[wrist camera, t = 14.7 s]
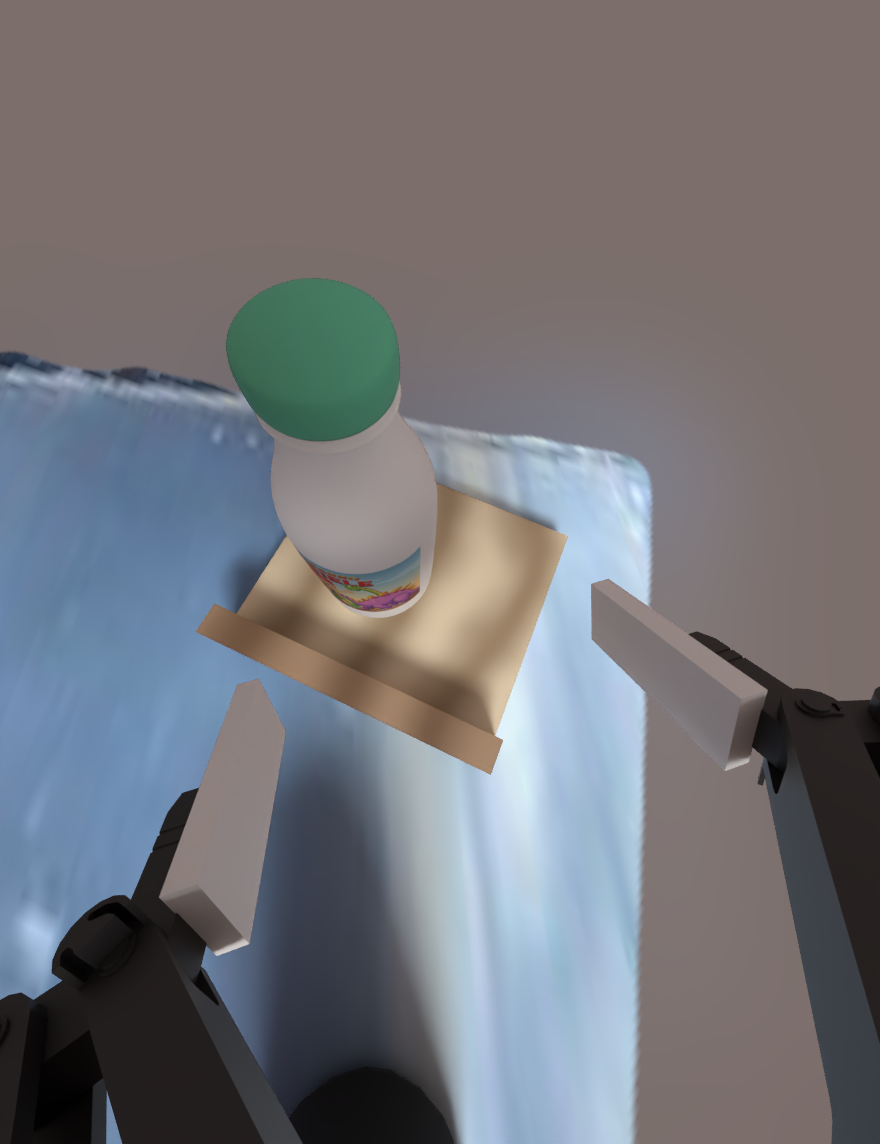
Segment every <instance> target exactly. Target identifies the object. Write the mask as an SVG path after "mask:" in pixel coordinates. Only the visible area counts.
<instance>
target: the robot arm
mask: <svg viewBox="0 0 880 1144" xmlns="http://www.w3.org/2000/svg"><path fill="white" fill-rule="evenodd" d="M591 610H592V640H593V641H594V642H595V643H596V644H597V645H598V646H599V647H600V648H601V649H602V650H603V651H604V652H605V653H606V654H607V655H608V656H609V657H610V658H611V659H612V660H613V661H614V662H615V663H616V664H617V665H618V666H619V667H620V668H622V669H623V670H624V671H625V672H626V673H627V674H628V675H629V676H630V677H631V678H632V679H633V680H634V681H635V682H636V683H637V684H638V685H639V686H640V687H641V688H642V689H643V690H644V691H645V692H646V693H647V694H648V695H649V696H650V697H651V698H652V699H653V700H654V701H655V702H656V703H657V704H658V705H659V706H660V707H661V708H662V709H663V710H664V711H665V712H666V713H667V714H668V715H669V716H670V717H671V718H672V719H673V720H674V721H675V722H676V723H677V724H678V725H679V726H680V727H681V728H682V729H683V730H684V731H685V732H686V733H687V734H689V736H690V737H691V738H692V739H693V740H694V741H695V742H696V743H697V744H698V745H699V746H700V747H701V748H702V749H704V750H705V751H706V753H707V754H708V755H710V756H711V757H712V758H713V759H714V760H715V761H716V762H717V763H718V764H719V765H720V766H721V767H722V768H723V769H724V770H725V771H726V770H729V769H732V768H734V767H737V766H740V765H743V764H746V763H748V762H749V759H750V755H751V752H752V748H754V749H755V750H756V751H757V752H759V753H760V754H761V755H762V756H763V757H764V760H763V763H762V766H761V770H760V773H759V777H758V784H760V785H763V782H764V779H765V780H766V785H767V790H768V795H769V800H770V805H771V810H772V815H773V820H774V825H775V829H776V835H777V839H778V845H779V850H780V855H781V859H782V864H783V869H784V874H785V879H786V884H787V889H788V894H789V899H790V904H791V909H792V914H793V919H794V924H795V929H796V934H797V939H798V943H799V948H800V954H801V958H802V963H803V968H804V973H805V978H806V983H807V988H808V993H809V998H810V1003H811V1008H812V1013H813V1018H814V1023H815V1027H816V1032H817V1038H818V1043H819V1047H820V1053H821V1057H822V1063H823V1067H824V1072H825V1077H826V1082H827V1087H828V1092H829V1097H830V1103H831V1109H832V1121H833V1123H832V1144H880V687H878V688H877V689H875V691H874V694H873V696H872V698H871V700H858V701H837V700H835V699H834V698H832V697H830V696H828V695H826V694H823V693H821V692H817V691H813V690H810V689H797V688H796V689H792V688H790V687H788V686H787V685H785V684H784V683H782V682H781V681H779V680H778V679H776V678H775V677H773V676H772V675H770V674H769V673H767V672H766V671H764V670H763V669H761V668H759V667H758V666H757V665H755V664H753V663H752V662H750V661H749V660H747V659H746V658H743V657H742V656H741V655H740V654H738V653H737V652H735V651H734V650H730V648H729V647H728V646H726V645H725V644H723V643H722V642H720V641H719V640H717V639H715V638H713V637H710V636H708V635H705V634H702V633H700V632H694V633H690V634H687V633H685V632H684V631H682V630H681V629H679V628H678V627H677V626H675V625H674V624H672V623H671V622H669V621H668V620H667V619H665V618H664V617H662V616H661V615H659V614H658V613H657V612H655V611H654V610H652V609H651V608H649V607H648V606H647V605H645V604H644V603H642V602H641V601H639V600H638V599H637V598H635V597H634V596H632V595H631V594H629V593H628V592H627V591H625V590H624V589H622V588H621V587H619V586H618V585H617V584H615V583H614V582H612V581H611V580H609V579H607V580H603V581H600V582H596V583H593V584H591ZM285 735H286V731H285V729H284V727H283V725H282V723H281V721H280V719H279V717H278V715H277V713H276V711H275V709H274V707H273V705H272V703H271V701H270V699H269V697H268V695H267V694H266V692H265V690H264V688H263V686H262V684H261V682H260V680H259V679H256V680H252V681H249V682H245V683H242V684H238V685H237V687H236V689H235V692H234V695H233V697H232V700H231V703H230V706H229V708H228V711H227V714H226V716H225V719H224V722H223V725H222V727H221V730H220V733H219V736H218V738H217V741H216V744H215V746H214V749H213V752H212V755H211V757H210V760H209V763H208V765H207V768H206V771H205V774H204V776H203V779H202V782H201V784H200V787H199V788H197V789H194V790H190V791H187V792H184V793H182V794H181V796H180V797H179V798H178V800H177V801H176V802H175V804H174V805H173V806H172V808H171V809H170V810H169V811H168V813H167V815H166V818H165V820H164V823H163V825H162V827H161V830H160V832H159V833H160V836H158V837H157V839H156V842H155V844H154V846H153V852H152V853H150V856H149V858H148V861H147V863H146V865H145V868H144V870H143V872H142V875H141V877H140V879H139V882H138V884H137V887H136V889H135V891H134V894H133V896H132V898H131V900H130V899H129V898H128V897H126V896H125V895H117V896H112V897H110V898H108V899H105V900H103V901H101V902H99V903H98V904H97V905H95V906H94V907H92V908H91V909H90V910H88V911H87V912H86V913H85V914H84V915H83V916H82V917H81V918H80V919H79V920H78V921H77V922H76V923H75V924H74V925H73V926H72V927H71V928H70V930H69V931H68V933H67V934H66V935H65V937H64V938H63V940H62V941H61V942H60V944H59V946H58V949H57V951H56V953H55V956H54V958H53V961H52V974H54V975H55V976H57V977H58V978H60V979H61V980H63V981H61V982H60V983H58V984H57V985H55V986H54V987H52V988H51V989H49V990H48V991H46V992H45V993H43V994H42V995H40V996H39V997H37V998H36V999H34V1000H33V999H31V998H29V997H28V996H26V995H24V994H23V993H17V994H12V995H8V996H6V997H5V998H3V999H1V1000H0V1144H106V1102H107V1092H108V1096H109V1099H110V1102H111V1106H112V1109H113V1113H114V1116H115V1120H116V1123H117V1127H118V1130H119V1133H120V1137H121V1140H122V1144H303V1143H302V1141H301V1140H300V1138H299V1136H298V1134H297V1132H296V1131H295V1129H294V1127H293V1125H292V1124H291V1122H290V1120H289V1118H288V1116H287V1115H286V1113H285V1111H284V1109H283V1107H282V1106H281V1104H280V1102H279V1100H278V1099H277V1097H276V1095H275V1093H274V1091H273V1090H272V1088H271V1086H270V1084H269V1083H268V1081H267V1079H266V1077H265V1075H264V1074H263V1072H262V1070H261V1068H260V1067H259V1065H258V1063H257V1061H256V1059H255V1058H254V1056H253V1054H252V1052H251V1051H250V1049H249V1047H248V1045H247V1043H246V1042H245V1040H244V1038H243V1036H242V1035H241V1033H240V1031H239V1029H238V1027H237V1026H236V1024H235V1022H234V1020H233V1018H232V1017H231V1015H230V1013H229V1011H228V1010H227V1008H226V1006H225V1004H224V1002H223V1001H222V999H221V997H220V995H219V994H218V992H217V990H216V988H215V986H214V985H213V983H212V981H211V979H210V978H209V976H208V974H207V972H206V971H205V970H204V969H203V968H202V967H201V964H202V960H203V956H204V952H205V948H206V945H207V946H208V947H209V948H210V949H211V950H212V951H213V952H214V954H215V955H216V956H218V955H221V954H223V953H226V952H229V951H232V950H234V949H237V948H240V947H243V946H245V945H248V944H250V938H251V933H252V927H253V921H254V915H255V909H256V904H257V898H258V892H259V886H260V880H261V874H262V869H263V863H264V857H265V851H266V845H267V840H268V834H269V828H270V822H271V816H272V810H273V805H274V799H275V793H276V787H277V781H278V776H279V770H280V764H281V758H282V752H283V746H284V741H285Z"/></svg>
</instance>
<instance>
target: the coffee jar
mask: <svg viewBox="0 0 880 1144" xmlns="http://www.w3.org/2000/svg"><path fill="white" fill-rule="evenodd" d="M289 1120H290V1122H291V1124H292V1125H293V1127H294V1129H295V1131H296V1132H297V1134H298V1136H299V1138H300V1140H301V1141H302V1143H303V1144H454V1142H453V1139H452V1137H451V1134H450V1132H449V1130H448V1127H447V1125H446V1122H445V1120H444V1118H443V1116H442V1115H441V1113H440V1112H439V1111H438V1110H437V1108H436V1107H435V1106H434V1105H433V1103H432V1102H431V1101H430V1100H429V1098H428V1097H427V1096H426V1095H425V1093H424V1092H423V1091H422V1090H421V1088H420V1087H418V1086H417V1085H415V1084H414V1083H412V1082H410V1081H409V1080H407V1079H405V1078H404V1077H402V1076H400V1075H399V1074H397V1073H395V1072H394V1071H392V1070H386V1069H378V1068H370V1067H363V1068H360V1069H357V1070H353V1071H350V1072H347V1073H343V1074H340V1075H337V1076H334V1077H332V1078H331V1079H330V1080H328V1081H327V1082H326V1083H324V1084H323V1085H322V1086H320V1087H319V1088H318V1089H316V1090H315V1091H314V1092H313V1093H311V1094H310V1095H309V1096H307V1097H306V1098H305V1099H304V1100H303V1101H302V1102H301V1103H300V1105H299V1106H298V1107H297V1109H296V1110H295V1111H294V1113H293V1114H292V1116H291V1117H290V1118H289Z"/></svg>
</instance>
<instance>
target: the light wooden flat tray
mask: <svg viewBox="0 0 880 1144" xmlns="http://www.w3.org/2000/svg"><path fill="white" fill-rule="evenodd" d="M436 486H437V524H436V536H435V547H434V557H433V566H432V573H431V577H430V581H429V584H428V587H427V589H426V591H425V592H424V594H423V595H422V597H421V598H420V599H419V600H418V601H417V602H416V603H415V604H414V605H413V606H412V607H410V608H409V609H407V610H406V611H404V612H402V613H400V614H397V615H394V616H391V617H385V618H370V617H365V616H361V615H358V614H356V613H354V612H352V611H350V610H349V609H347V608H346V607H344V606H343V605H342V604H341V603H340V602H339V601H338V600H337V599H336V598H335V597H334V596H333V594H332V593H331V592H330V591H329V590H328V588H327V587H326V586H325V585H324V584H323V582H322V581H321V580H320V579H319V578H318V576H317V575H316V574H315V573H314V571H313V570H312V569H311V568H310V566H309V565H308V564H307V563H306V561H305V560H304V559H303V558H302V556H301V555H300V554H299V552H298V551H297V549H296V548H295V546H294V545H293V543H292V542H291V541H290V539H289V538H288V536H286V537H285V539H284V540H283V542H282V543H281V545H280V546H279V548H278V550H277V551H276V553H275V554H274V556H273V557H272V559H271V560H270V562H269V564H268V565H267V567H266V568H265V570H264V571H263V573H262V575H261V576H260V578H259V579H258V581H257V582H256V584H255V585H254V587H253V589H252V590H251V592H250V593H249V595H248V596H247V598H246V600H245V601H244V603H243V604H242V606H241V607H240V609H239V610H238V612H237V614H236V613H233V612H231V611H229V610H227V609H225V608H223V607H221V606H219V605H216V604H214V605H213V607H212V608H211V610H210V611H209V613H208V614H207V616H206V617H205V619H204V620H203V622H202V623H201V625H200V626H199V628H198V629H197V631H196V632H197V633H200V634H202V635H204V636H206V637H208V638H210V639H212V640H214V641H216V642H218V643H220V644H222V645H224V646H226V647H228V648H231V649H233V650H235V651H237V652H239V653H241V654H243V655H245V656H247V657H249V658H251V659H253V660H255V661H257V662H259V663H261V664H264V665H266V666H268V667H270V668H272V669H274V670H276V671H278V672H280V673H282V674H284V675H286V676H288V677H290V678H292V679H294V680H297V681H299V682H301V683H303V684H305V685H307V686H309V687H311V688H313V689H315V690H317V691H319V692H321V693H323V694H325V695H327V696H330V697H332V698H334V699H336V700H338V701H340V702H342V703H344V704H346V705H348V706H350V707H352V708H354V709H356V710H358V711H360V712H363V713H365V714H367V715H369V716H371V717H373V718H375V719H377V720H379V721H381V722H383V723H385V724H387V725H389V726H391V727H393V728H396V729H398V730H400V731H402V732H404V733H406V734H408V735H410V736H412V737H414V738H416V739H418V740H420V741H422V742H424V743H427V744H429V745H431V746H433V747H435V748H437V749H439V750H441V751H443V752H445V753H447V754H449V755H451V756H453V757H455V758H457V759H460V760H462V761H464V762H466V763H468V764H470V765H472V766H474V767H476V768H478V769H480V770H482V771H484V772H486V773H488V774H490V775H491V773H492V770H493V767H494V764H495V761H496V759H497V756H498V753H499V750H500V747H501V745H502V742H503V740H502V739H500V738H498V737H496V736H495V735H496V732H497V729H498V727H499V724H500V721H501V718H502V716H503V713H504V710H505V707H506V705H507V702H508V699H509V696H510V694H511V691H512V688H513V686H514V683H515V680H516V677H517V675H518V672H519V669H520V666H521V664H522V661H523V658H524V655H525V653H526V650H527V647H528V645H529V642H530V639H531V636H532V634H533V631H534V628H535V625H536V623H537V620H538V617H539V614H540V612H541V609H542V606H543V604H544V601H545V598H546V595H547V593H548V590H549V587H550V584H551V582H552V579H553V576H554V573H555V571H556V568H557V565H558V563H559V560H560V557H561V554H562V552H563V549H564V546H565V543H566V541H567V538H568V536H566V535H564V534H561V533H559V532H556V531H554V530H552V529H549V528H547V527H544V526H542V525H539V524H537V523H534V522H532V521H529V520H527V519H524V518H522V517H519V516H517V515H514V514H512V513H509V512H507V511H504V510H502V509H500V508H497V507H495V506H492V505H490V504H487V503H485V502H482V501H480V500H477V499H475V498H472V497H470V496H467V495H465V494H462V493H460V492H457V491H455V490H453V489H450V488H448V487H445V486H443V485H440V484H438V483H436Z"/></svg>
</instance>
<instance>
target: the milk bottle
mask: <svg viewBox="0 0 880 1144" xmlns="http://www.w3.org/2000/svg"><path fill="white" fill-rule="evenodd" d="M226 350H227V357H228V361H229V365H230V369H231V371H232V374H233V376H234V378H235V380H236V382H237V384H238V386H239V388H240V390H241V392H242V393H243V395H244V397H245V398H246V400H247V401H248V403H249V405H250V406H251V408H252V409H253V410H254V412H255V414H256V417H257V419H258V421H259V422H260V424H261V425H262V427H263V428H264V429H265V430H266V431H267V433H268V434H270V435H271V436H272V437H273V438H274V441H275V448H274V454H273V459H272V466H271V492H272V498H273V502H274V506H275V510H276V513H277V516H278V518H279V520H280V523H281V525H282V527H283V529H284V531H285V533H286V535H287V536H288V538H289V539H290V541H291V542H292V543H293V545H294V546H295V548H296V549H297V551H298V552H299V554H300V555H301V556H302V558H303V559H304V560H305V561H306V563H307V564H308V565H309V566H310V568H311V569H312V570H313V571H314V573H315V574H316V575H317V576H318V578H319V579H320V580H321V581H322V582H323V584H324V585H325V586H326V587H327V588H328V590H329V591H330V592H331V593H332V594H333V596H334V597H335V598H336V599H337V600H338V601H339V602H340V603H341V604H342V605H343V606H344V607H346V608H347V609H349V610H350V611H352V612H354V613H356V614H358V615H361V616H365V617H370V618H385V617H391V616H394V615H397V614H400V613H402V612H404V611H406V610H407V609H409V608H410V607H412V606H413V605H414V604H415V603H416V602H417V601H418V600H419V599H420V598H421V597H422V595H423V594H424V592H425V591H426V589H427V587H428V584H429V581H430V577H431V573H432V566H433V557H434V547H435V536H436V524H437V486H436V480H435V474H434V470H433V467H432V464H431V461H430V458H429V456H428V454H427V452H426V450H425V448H424V446H423V444H422V442H421V441H420V439H419V438H418V436H417V435H416V434H415V432H414V431H413V430H412V429H411V427H410V426H409V425H408V424H407V423H406V422H405V420H404V419H403V418H402V417H401V415H400V413H399V412H398V408H399V404H400V400H401V385H400V357H399V349H398V341H397V336H396V332H395V329H394V327H393V324H392V322H391V319H390V317H389V315H388V314H387V312H386V311H385V310H384V308H383V307H382V306H381V305H380V304H379V302H377V301H376V300H375V299H374V298H373V297H371V296H370V295H369V294H367V293H365V292H364V291H362V290H360V289H358V288H356V287H354V286H351V285H349V284H346V283H342V282H339V281H335V280H329V279H320V278H308V279H297V280H292V281H287V282H284V283H281V284H277V285H275V286H272V287H271V288H268V289H266V290H264V291H262V292H260V293H259V294H257V295H256V296H254V297H253V298H252V299H251V300H250V301H248V302H247V303H246V304H245V305H244V306H243V307H242V308H241V309H240V311H239V312H238V313H237V315H236V316H235V318H234V319H233V321H232V323H231V325H230V328H229V330H228V334H227V340H226Z"/></svg>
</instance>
